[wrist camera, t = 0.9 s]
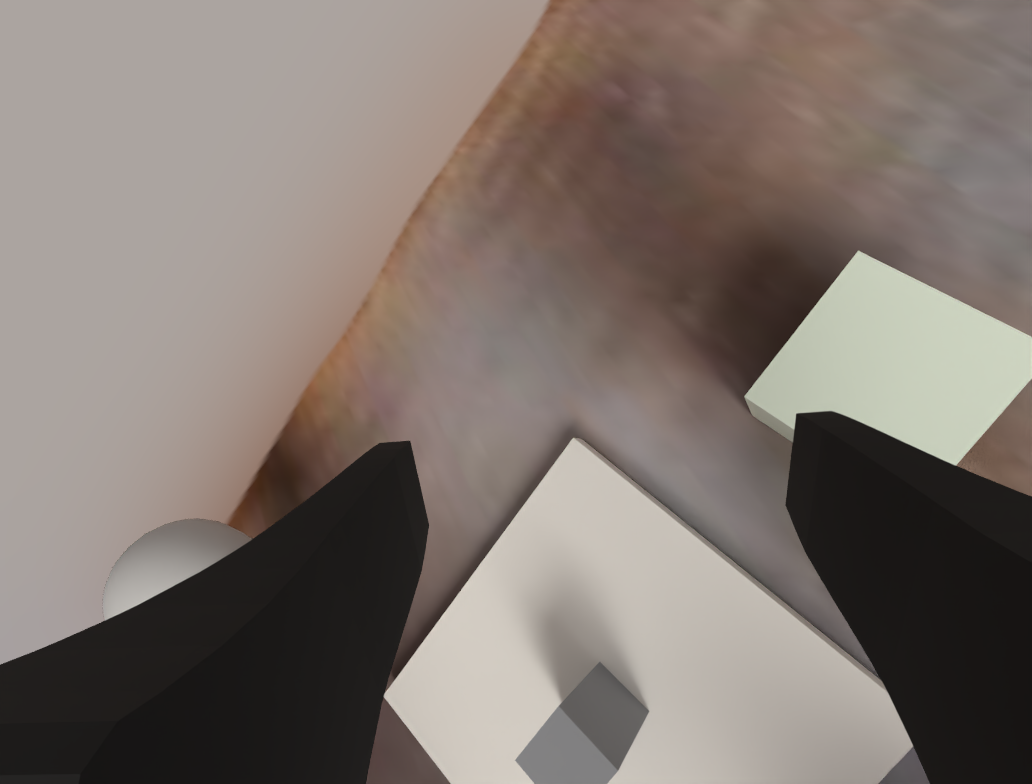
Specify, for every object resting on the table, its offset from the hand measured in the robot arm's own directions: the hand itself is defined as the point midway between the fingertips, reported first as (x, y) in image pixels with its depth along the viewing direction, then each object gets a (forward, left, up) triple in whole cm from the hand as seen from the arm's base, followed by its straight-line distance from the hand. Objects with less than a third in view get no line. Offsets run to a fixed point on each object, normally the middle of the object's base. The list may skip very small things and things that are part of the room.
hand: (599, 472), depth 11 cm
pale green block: (-3, -6, -15) cm, 16 cm away
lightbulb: (+13, +17, -15) cm, 26 cm away
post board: (-3, +10, -15) cm, 18 cm away
